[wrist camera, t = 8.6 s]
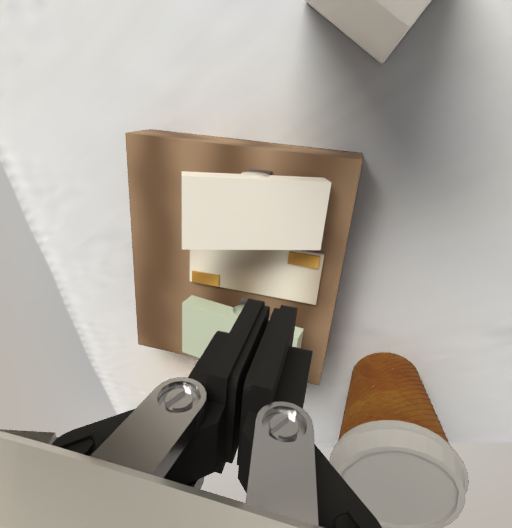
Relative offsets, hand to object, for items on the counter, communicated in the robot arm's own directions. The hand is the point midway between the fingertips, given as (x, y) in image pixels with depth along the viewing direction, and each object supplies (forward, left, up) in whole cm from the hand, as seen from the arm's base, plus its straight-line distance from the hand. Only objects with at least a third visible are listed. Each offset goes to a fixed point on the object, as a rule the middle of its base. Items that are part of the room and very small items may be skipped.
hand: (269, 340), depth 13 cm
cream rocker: (+4, 0, -15) cm, 16 cm away
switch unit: (+6, +6, -21) cm, 23 cm away
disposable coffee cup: (-9, +17, -21) cm, 29 cm away
